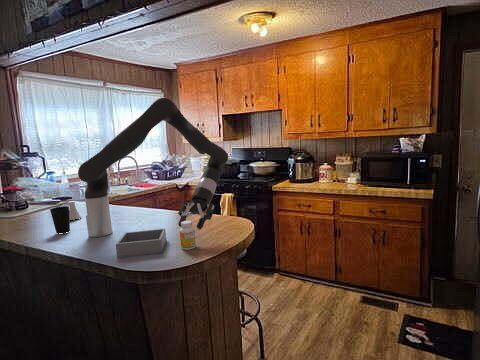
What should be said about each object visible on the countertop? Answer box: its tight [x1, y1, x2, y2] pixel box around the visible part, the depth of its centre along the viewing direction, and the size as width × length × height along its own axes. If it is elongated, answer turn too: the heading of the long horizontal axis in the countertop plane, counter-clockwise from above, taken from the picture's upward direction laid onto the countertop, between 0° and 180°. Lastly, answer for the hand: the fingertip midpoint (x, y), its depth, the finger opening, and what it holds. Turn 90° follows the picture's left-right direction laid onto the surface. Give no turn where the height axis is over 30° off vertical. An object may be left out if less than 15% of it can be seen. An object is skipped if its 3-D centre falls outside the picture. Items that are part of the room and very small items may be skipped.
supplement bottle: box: [179, 220, 197, 251], centre depth 111 cm, size 5×5×10 cm
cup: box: [50, 205, 71, 234], centre depth 141 cm, size 8×8×12 cm
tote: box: [115, 228, 167, 259], centre depth 113 cm, size 16×14×5 cm
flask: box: [68, 201, 82, 221], centre depth 166 cm, size 7×7×10 cm
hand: (189, 227), depth 112 cm, fingers open, 8 cm apart
